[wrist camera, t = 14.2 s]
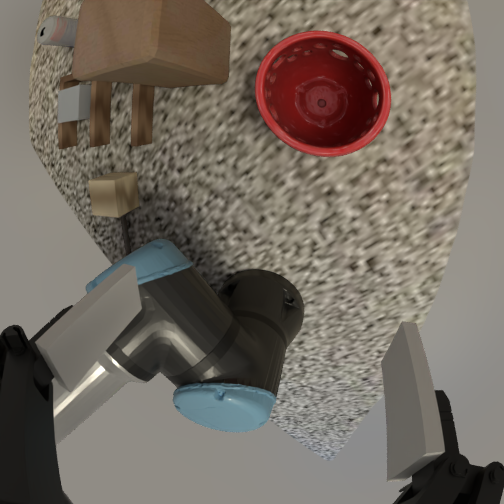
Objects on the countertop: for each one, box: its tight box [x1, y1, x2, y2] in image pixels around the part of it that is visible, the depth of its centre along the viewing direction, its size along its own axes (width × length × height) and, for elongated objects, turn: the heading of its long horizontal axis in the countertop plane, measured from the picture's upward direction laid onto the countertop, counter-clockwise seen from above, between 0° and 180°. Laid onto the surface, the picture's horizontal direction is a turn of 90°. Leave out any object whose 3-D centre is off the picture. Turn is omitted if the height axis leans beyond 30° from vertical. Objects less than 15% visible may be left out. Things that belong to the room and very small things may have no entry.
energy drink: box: [37, 16, 78, 47], centre depth 28 cm, size 5×5×12 cm
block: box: [58, 85, 91, 123], centre depth 37 cm, size 6×6×6 cm
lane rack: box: [58, 74, 155, 149], centre depth 37 cm, size 14×20×4 cm
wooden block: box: [72, 0, 231, 88], centre depth 24 cm, size 10×10×20 cm
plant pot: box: [255, 31, 391, 157], centre depth 27 cm, size 13×13×12 cm
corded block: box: [89, 172, 139, 255], centre depth 43 cm, size 20×6×11 cm, turn 178°
